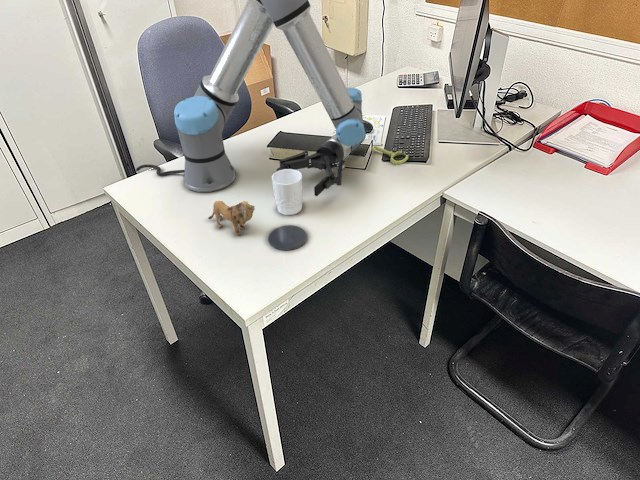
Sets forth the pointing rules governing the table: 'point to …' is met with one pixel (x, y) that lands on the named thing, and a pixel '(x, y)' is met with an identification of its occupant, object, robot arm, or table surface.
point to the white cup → (288, 191)
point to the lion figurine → (233, 214)
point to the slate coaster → (287, 237)
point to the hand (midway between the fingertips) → (293, 185)
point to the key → (392, 155)
